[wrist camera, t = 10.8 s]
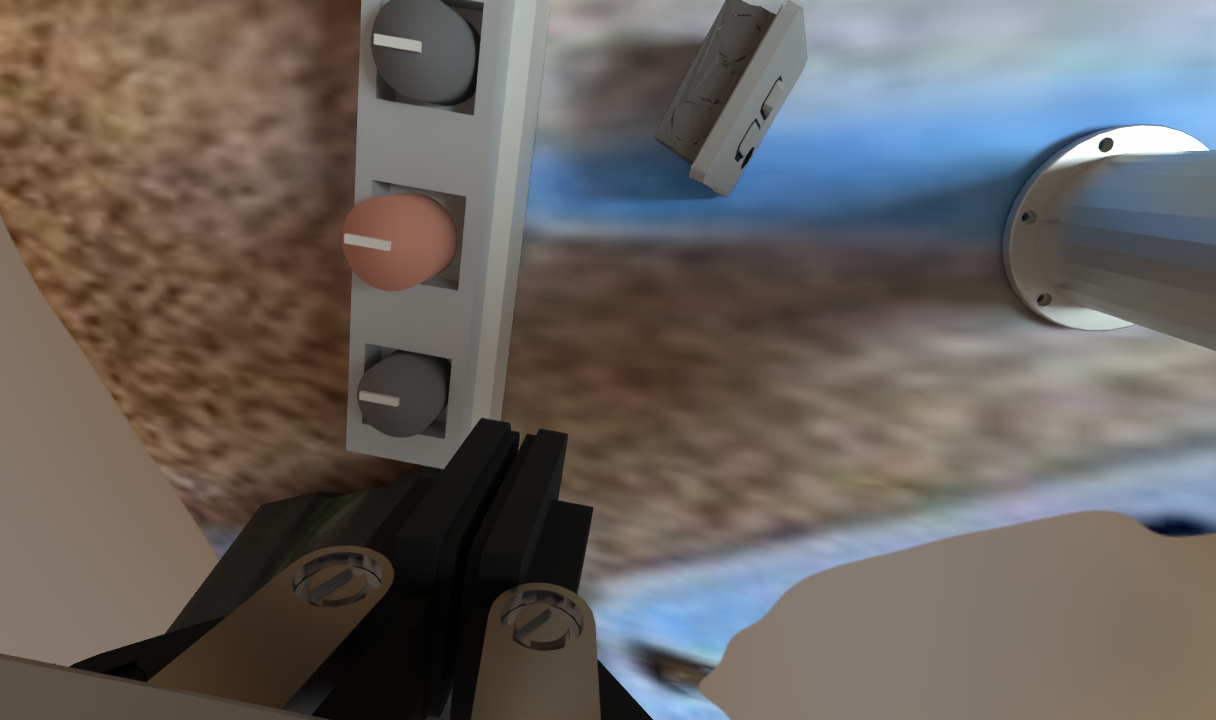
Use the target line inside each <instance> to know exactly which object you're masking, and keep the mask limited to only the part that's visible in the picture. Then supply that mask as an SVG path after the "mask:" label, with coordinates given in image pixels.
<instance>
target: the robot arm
mask: <svg viewBox="0 0 1216 720" xmlns="http://www.w3.org/2000/svg"><path fill="white" fill-rule="evenodd" d="M1098 143H1099V147H1098ZM1023 214H1025V217H1024V219H1023V220H1022V216H1023ZM1003 261H1004V266H1005V271H1006V275H1007V277H1008V279H1009V282H1010V284H1011V286H1012V288H1013V290H1014V291H1015V293H1016V294H1017V295H1018V297H1019V298H1020V299H1021V301H1022V302H1023V303H1024V304H1025V305H1026V306H1027V307H1029V308H1030V309H1031V310H1032V311H1033V312H1035V313H1036V314H1037V315H1039V316H1041V317H1043V318H1045V319H1047V320H1049V321H1051V322H1053V323H1056V324H1059V325H1062V326H1065V327H1067V328H1072V329H1077V330H1083V331H1109V330H1115V329H1121V328H1126V327H1129V326H1132V325H1135V324H1137V325H1140V326H1143V327H1146V328H1149V329H1152V330H1155V331H1158V332H1161V333H1164V334H1167V335H1170V336H1173V337H1176V338H1179V339H1182V340H1185V341H1188V342H1191V343H1194V344H1197V345H1200V346H1203V347H1206V348H1209V349H1212V350H1215V351H1216V150H1210V149H1209V148H1207V147H1206V146H1205V145H1204V144H1203V143H1202V142H1201V141H1200V140H1198V139H1196V138H1194V137H1193V136H1191V135H1189V134H1187V133H1185V132H1183V131H1181V130H1177V129H1174V128H1170V127H1166V126H1162V125H1147V124H1137V125H1125V126H1118V127H1113V128H1108V129H1104V130H1099V131H1097V132H1094V133H1092V134H1089V135H1087V136H1084V137H1082V138H1079V139H1077V140H1075V141H1074V142H1072V143H1070V144H1069V145H1067V146H1065V147H1064V148H1062V149H1060V150H1059V151H1057V152H1056V153H1055V154H1054V155H1053V156H1051V157H1050V158H1049V159H1048V160H1047V161H1045V162H1044V163H1043V164H1042V165H1041V166H1040V167H1039V168H1038V169H1037V170H1036V171H1035V173H1034V174H1033V175H1032V176H1031V177H1030V178H1029V179H1028V180H1027V182H1026V183H1025V185H1024V186H1023V188H1022V189H1021V191H1020V193H1019V194H1018V196H1017V197H1016V199H1015V201H1014V203H1013V206H1012V208H1011V211H1010V213H1009V215H1008V218H1007V221H1006V226H1005V231H1004V236H1003ZM1039 296H1040V298H1039V299H1038V300H1037V298H1038V297H1039ZM519 437H520V434H519V432H515V431H511V425H510V423H508V422H502V421H497V420H492V419H486V418H481V419H480V420H479V421H478V422H477V424H476V425H475V427H474V428H473V429H472V431H471V432H470V434H469V435H468V436H467V438H466V439H465V440H464V442H463V443H462V445H461V446H460V447H459V449H458V450H457V452H456V453H455V454H454V456H453V457H452V458H451V460H450V461H449V463H448V464H447V465H446V467H445V468H444V470H443V471H442V472H441V474H440V475H439V477H433V476H428V475H420V476H419V477H418V478H417V479H416V480H415V482H414V483H413V484H412V486H411V487H410V488H409V489H408V491H407V492H406V493H405V495H404V496H403V497H402V498H401V500H400V501H399V502H398V503H397V505H396V506H395V507H394V509H393V510H392V511H391V512H390V514H389V515H388V516H387V517H386V519H385V520H384V521H383V523H382V524H381V525H380V526H379V528H378V529H377V530H376V531H375V533H374V534H373V535H372V537H371V538H370V539H369V540H368V542H367V543H366V544H365V545H364V547H359V546H334V547H329V548H323V549H320V550H317V551H314V552H312V553H309V554H306V555H305V556H303V557H301V558H300V559H298V560H297V561H295V562H293V563H292V564H291V565H290V566H288V567H287V568H286V569H285V570H283V571H282V572H281V573H280V574H279V575H277V576H276V577H275V578H274V579H272V580H271V581H270V582H269V583H267V584H266V585H265V586H264V587H263V588H261V589H260V590H259V591H258V592H256V593H255V594H254V595H253V596H252V597H250V598H249V599H248V600H247V601H245V602H244V603H243V604H242V605H241V606H239V607H238V608H237V609H236V610H234V611H233V612H232V613H231V614H229V615H226V616H222V617H219V618H216V619H212V620H209V621H206V622H203V623H199V624H196V625H193V626H190V627H186V628H183V629H180V630H177V631H173V632H170V633H167V634H163V635H160V636H157V637H154V638H151V639H147V640H144V641H141V642H137V643H134V644H131V645H128V646H124V647H121V648H118V649H115V650H111V651H108V652H105V653H101V654H98V655H96V656H93V657H91V658H88V659H85V660H83V661H80V662H78V663H75V664H73V665H71V666H70V667H66V666H61V665H56V664H50V663H46V662H41V661H36V660H30V659H25V658H20V657H15V656H10V655H5V654H0V720H427V718H428V716H431V717H436V718H440V716H441V715H442V713H443V710H444V708H445V705H446V703H447V700H448V698H449V696H450V693H451V691H452V697H451V707H450V717H449V719H450V720H653V719H652V718H651V717H650V716H649V715H648V714H647V712H646V711H645V710H644V709H643V708H642V707H641V706H640V705H639V704H638V703H637V702H636V700H635V699H634V698H633V697H632V696H631V695H630V694H629V693H628V692H627V691H626V690H625V689H624V687H623V686H622V685H621V684H620V683H619V682H618V681H617V680H616V679H615V678H614V677H613V675H612V674H611V673H610V672H609V671H608V670H607V669H606V668H605V667H604V666H603V665H602V663H601V662H600V661H599V660H598V659H597V646H596V629H595V621H594V617H593V613H592V610H591V609H590V608H589V606H588V605H587V603H586V602H585V601H584V600H583V599H582V598H580V597H579V596H578V595H577V594H578V589H579V584H580V579H581V573H582V568H583V563H584V557H585V552H586V546H587V541H588V535H589V530H590V524H591V519H592V513H593V507H589V506H584V505H579V504H574V503H568V502H563V501H558V497H559V491H560V484H561V478H562V472H563V465H564V459H565V453H566V447H567V439H568V434H566V433H561V432H555V431H550V430H545V429H539V431H538V433H537V435H531V434H527V435H526V437H525V439H524V441H523V443H522V445H521V447H520V449H519V451H518V446H519Z"/></svg>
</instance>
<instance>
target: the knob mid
mask: <svg viewBox="0 0 1216 720" xmlns="http://www.w3.org/2000/svg"><path fill="white" fill-rule="evenodd" d="M342 248H343V252H344V255H345V258H346V260H347V262H348V264H349V266H350V267H351V269H352V270H353V271H354V273H355V274H356V275H357V276H358V277H359V278H360V279H361V280H363V281H364V282H365V283H367V284H368V285H370V286H372V287H374V288H377V289H380V290H384V291H402V290H406V289H409V288H411V287H413V286H415V285H417V284H419V283H421V282H423V281H425V280H427V279H429V278H431V277H433V276H436V275H438V274H439V273H441V272H442V271H444V270H445V269H446V268H447V267H448V266H449V264H450V263H451V262H452V260H453V258H454V256H455V253H456V249H457V231H456V227H455V224H454V222H453V220H452V218H451V216H450V214H449V213H448V211H447V210H446V209H445V208H444V207H443V206H442V205H441V204H440V203H439V202H437V201H436V200H434V199H433V198H431V197H429V196H426V195H423V194H419V193H404V194H395V195H386V196H377V197H371V198H368V199H366V200H364V201H362V202H360V203H359V204H357V205H356V206H355V207H354V208H353V209H352V210H351V211H350V213H349V214H348V216H347V217H346V219H345V222H344V224H343V229H342Z"/></svg>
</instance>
